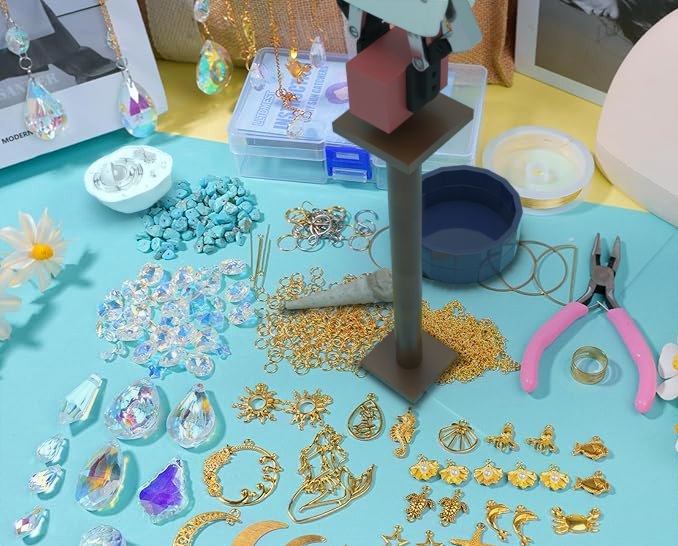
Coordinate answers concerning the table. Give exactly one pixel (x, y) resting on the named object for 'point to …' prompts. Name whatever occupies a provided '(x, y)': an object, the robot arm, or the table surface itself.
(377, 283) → the seashell
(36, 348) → the table surface
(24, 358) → the table surface
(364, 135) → the stand
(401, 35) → the dusty pink block
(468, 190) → the pot
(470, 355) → the table surface
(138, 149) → the cell model
